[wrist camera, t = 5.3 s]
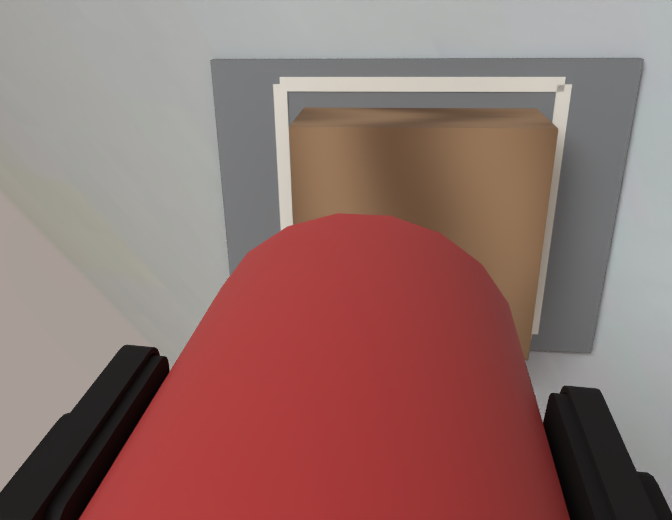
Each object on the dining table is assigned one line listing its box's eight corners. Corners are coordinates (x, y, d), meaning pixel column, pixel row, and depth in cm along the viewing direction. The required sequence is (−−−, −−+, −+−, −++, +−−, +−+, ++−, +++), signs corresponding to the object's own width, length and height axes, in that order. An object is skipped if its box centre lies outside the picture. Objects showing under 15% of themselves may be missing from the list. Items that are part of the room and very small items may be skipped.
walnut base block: (536, 108, 27) (558, 128, 23) (513, 314, 31) (528, 360, 27) (303, 107, 28) (289, 127, 24) (310, 308, 32) (298, 350, 28)
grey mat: (640, 57, 26) (644, 59, 25) (588, 348, 32) (591, 353, 31) (212, 59, 27) (210, 60, 27) (237, 335, 33) (235, 340, 33)
